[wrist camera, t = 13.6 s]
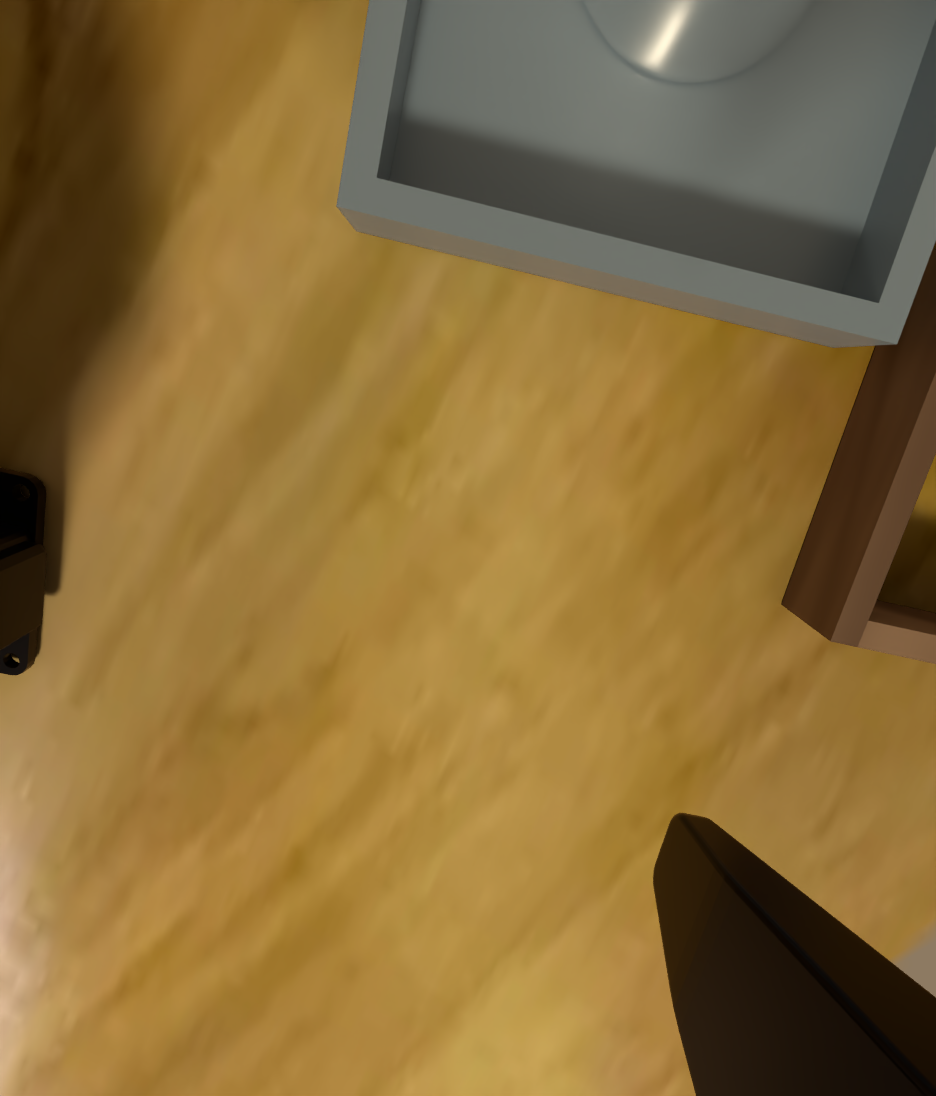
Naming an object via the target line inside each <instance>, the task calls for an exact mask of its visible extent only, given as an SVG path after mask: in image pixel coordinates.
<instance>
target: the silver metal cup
mask: <svg viewBox="0 0 936 1096" xmlns="http://www.w3.org/2000/svg"><path fill="white" fill-rule="evenodd" d="M813 1H814V0H584V3H585V5H586V8H587V10H588V13H589V15H590V17H591V19H592V21H593V23H594V24H595V26H596V28H597V29H598V31H599V32H600V34H601V35H602V37H603V38H604V39H605V41H606V42H607V43H608V44H609V45H610V47H611V48H612V49H613V50H614V51H615V52H616V53H617V54H618V55H619V56H620V57H621V58H623V59H624V60H625V61H626V62H628V63H629V64H630V65H632V66H633V67H635V68H637V69H638V70H640V71H642V72H644V73H646V74H648V75H650V76H653V77H655V78H658V79H661V80H665V81H670V82H676V83H705V82H711V81H716V80H720V79H723V78H727V77H729V76H732V75H734V74H737V73H739V72H741V71H743V70H745V69H747V68H749V67H751V66H752V65H754V64H756V63H757V62H759V61H760V60H762V59H763V58H764V57H766V56H767V55H768V54H770V53H771V52H772V51H773V50H774V49H775V48H776V47H778V46H779V45H780V44H781V43H782V42H783V41H784V39H785V38H786V37H787V36H788V35H789V34H790V33H791V32H792V30H793V29H794V28H795V27H796V26H797V24H798V23H799V22H800V21H801V19H802V18H803V16H804V15H805V13H806V12H807V10H808V9H809V7H810V6H811V4H812V3H813Z"/></svg>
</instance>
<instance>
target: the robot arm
mask: <svg viewBox="0 0 936 1096" xmlns="http://www.w3.org/2000/svg"><path fill="white" fill-rule="evenodd" d="M21 485H24V486H26V487H27V488H28V490H29V493H30V495H29V498H27V497H24V495H23V494H22V493H21V489H20V488H21ZM45 503H46V489H45V486H44V484H43V482H42V481H41V480H40V479H39V478H37V477H36V476H34V475H31V474H27V473H23V472H18V471H14V470H9V469H4V468H0V673H3V674H8V675H18V674H21V673H23V672H24V671H26V670H27V669H29V668H30V667H31V666H32V665H33V664H34V661H35V655H36V640H37V627H39V626H40V625H41V624H42V616H43V601H44V586H45V571H46V557H47V553H46V551H45V549H44V547H43V534H44V518H45ZM11 653H12V654H15V655H16V656H17V657H18V658H19V661H20V663H18V662H16V661H15V660H14V659H13V658H12V655H11ZM653 885H654V892H655V898H656V904H657V911H658V917H659V923H660V930H661V936H662V942H663V948H664V955H665V961H666V967H667V974H668V980H669V986H670V992H671V997H672V1002H673V1008H674V1012H675V1016H676V1020H677V1024H678V1029H679V1033H680V1036H681V1040H682V1044H683V1048H684V1052H685V1055H686V1059H687V1063H688V1067H689V1071H690V1074H691V1078H692V1082H693V1086H694V1090H695V1093H696V1096H936V998H935V997H934V996H933V995H932V994H931V993H929V992H928V991H927V990H925V989H924V988H923V987H922V986H921V985H919V984H918V983H917V982H915V981H914V980H913V979H912V978H910V977H909V976H908V975H907V974H905V973H904V972H903V971H902V970H900V969H899V968H898V967H896V966H895V965H894V964H893V963H891V962H890V961H889V960H888V959H886V958H885V957H884V956H883V955H881V954H880V953H879V952H877V951H876V950H875V949H874V948H872V947H871V946H870V945H869V944H867V943H866V942H865V941H864V940H862V939H861V938H860V937H858V936H857V935H856V934H855V933H853V932H852V931H851V930H850V929H848V928H847V927H846V926H845V925H843V924H842V923H841V922H839V921H838V920H837V919H836V918H834V917H833V916H832V915H831V914H829V913H828V912H827V911H826V910H824V909H823V908H822V907H820V906H819V905H818V904H817V903H815V902H814V901H813V900H812V899H810V898H809V897H808V896H807V895H805V894H804V893H803V892H801V891H800V890H799V889H798V888H796V887H795V886H794V885H793V884H791V883H790V882H789V881H788V880H786V879H785V878H784V877H782V876H781V875H780V874H779V873H777V872H776V871H775V870H774V869H772V868H771V867H770V866H769V865H767V864H766V863H765V862H763V861H762V860H761V859H760V858H758V857H757V856H756V855H755V854H753V853H752V852H751V851H750V850H748V849H747V848H746V847H744V846H743V845H742V844H741V843H739V842H738V841H737V840H736V839H734V838H733V837H732V836H731V835H729V834H728V833H727V832H725V831H724V830H723V829H722V828H720V827H719V826H718V825H717V824H715V823H714V822H713V821H712V820H710V819H708V818H705V817H701V816H696V815H691V814H686V813H678V814H676V815H674V817H673V818H672V820H671V821H670V824H669V826H668V829H667V832H666V835H665V838H664V841H663V844H662V846H661V849H660V852H659V855H658V858H657V861H656V864H655V867H654V874H653Z"/></svg>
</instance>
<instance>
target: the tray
mask: <svg viewBox="0 0 936 1096" xmlns="http://www.w3.org/2000/svg"><path fill="white" fill-rule="evenodd" d="M337 208H338V209H339V210H340V211H341V213H342V214H343V215H344V216H345V218H346V219H347V220H348V221H349V223H350V224H351V225H352V226H353V228H354V229H355V230H356V231H358V232H362V233H366V234H370V235H374V236H378V237H382V238H387V239H391V240H395V241H399V242H403V243H407V244H411V245H415V246H419V247H423V248H427V249H432V250H436V251H440V252H444V253H448V254H452V255H456V256H460V257H464V258H468V259H472V260H477V261H481V262H485V263H489V264H493V265H497V266H501V267H505V268H509V269H513V270H517V271H522V272H526V273H530V274H534V275H538V276H542V277H546V278H550V279H554V280H558V281H562V282H567V283H571V284H575V285H579V286H583V287H587V288H591V289H595V290H599V291H603V292H607V293H612V294H616V295H620V296H624V297H628V298H632V299H636V300H640V301H644V302H648V303H652V304H657V305H661V306H665V307H669V308H673V309H677V310H681V311H685V312H689V313H693V314H698V315H702V316H706V317H710V318H714V319H718V320H722V321H726V322H730V323H734V324H738V325H743V326H747V327H751V328H755V329H759V330H763V331H767V332H771V333H775V334H779V335H783V336H788V337H792V338H796V339H800V340H804V341H808V342H812V343H816V344H820V345H824V346H828V347H833V348H835V347H855V346H874V345H894V344H897V343H898V341H899V338H900V335H901V333H902V330H903V327H904V324H905V322H906V319H907V316H908V314H909V311H910V308H911V306H912V303H913V300H914V298H915V295H916V292H917V290H918V287H919V284H920V282H921V279H922V276H923V274H924V271H925V268H926V266H927V263H928V260H929V258H930V255H931V252H932V249H933V247H934V244H935V241H936V0H814V1H813V3H812V4H811V6H810V7H809V9H808V10H807V12H806V13H805V15H804V16H803V18H802V19H801V21H800V22H799V23H798V24H797V26H796V27H795V28H794V29H793V30H792V32H791V33H790V34H789V35H788V36H787V37H786V38H785V39H784V41H783V42H782V43H781V44H780V45H779V46H778V47H776V48H775V49H774V50H773V51H772V52H771V53H770V54H768V55H767V56H766V57H764V58H763V59H762V60H760V61H759V62H757V63H756V64H754V65H752V66H751V67H749V68H747V69H745V70H743V71H741V72H739V73H737V74H734V75H732V76H729V77H727V78H723V79H720V80H716V81H711V82H705V83H676V82H670V81H665V80H661V79H658V78H655V77H653V76H650V75H648V74H646V73H644V72H642V71H640V70H638V69H637V68H635V67H633V66H632V65H630V64H629V63H628V62H626V61H625V60H624V59H623V58H621V57H620V56H619V55H618V54H617V53H616V52H615V51H614V50H613V49H612V48H611V47H610V45H609V44H608V43H607V42H606V41H605V39H604V38H603V37H602V35H601V34H600V32H599V31H598V29H597V28H596V26H595V24H594V23H593V21H592V19H591V17H590V15H589V13H588V10H587V8H586V5H585V3H584V0H369V6H368V13H367V19H366V25H365V31H364V38H363V44H362V50H361V56H360V63H359V69H358V75H357V81H356V88H355V94H354V100H353V106H352V113H351V119H350V125H349V131H348V137H347V144H346V150H345V156H344V162H343V169H342V175H341V181H340V187H339V194H338V200H337Z"/></svg>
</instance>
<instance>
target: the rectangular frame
mask: <svg viewBox="0 0 936 1096" xmlns="http://www.w3.org/2000/svg"><path fill="white" fill-rule="evenodd" d="M935 454H936V249H934V250H932V252H931V255H930V258H929V260H928V263H927V266H926V268H925V271H924V274H923V276H922V279H921V282H920V284H919V287H918V290H917V292H916V295H915V298H914V300H913V303H912V306H911V308H910V311H909V314H908V316H907V319H906V322H905V324H904V327H903V330H902V333H901V335H900V338H899V341H898V343H897V344H894V345H876V347H875V350H874V352H873V355H872V358H871V361H870V363H869V366H868V369H867V372H866V374H865V377H864V380H863V382H862V385H861V388H860V391H859V393H858V396H857V399H856V402H855V404H854V407H853V410H852V413H851V415H850V418H849V421H848V423H847V426H846V429H845V432H844V434H843V437H842V440H841V443H840V445H839V448H838V451H837V454H836V456H835V459H834V462H833V464H832V467H831V470H830V473H829V475H828V478H827V481H826V484H825V486H824V489H823V492H822V495H821V497H820V500H819V503H818V505H817V508H816V511H815V514H814V516H813V519H812V522H811V525H810V527H809V530H808V533H807V536H806V538H805V541H804V544H803V546H802V549H801V552H800V555H799V557H798V560H797V563H796V566H795V568H794V571H793V574H792V577H791V579H790V582H789V585H788V587H787V590H786V593H785V596H784V598H783V601H782V604H781V605H783V606H784V607H785V608H787V609H788V610H789V611H791V612H792V613H793V614H795V615H796V616H797V617H799V618H800V619H801V620H803V621H804V622H805V623H807V624H808V625H809V626H811V627H812V628H813V629H815V630H816V631H817V632H819V633H820V634H822V635H823V636H824V637H826V638H827V639H828V640H830V641H832V642H836V643H841V644H846V645H850V646H855V647H860V648H864V649H869V650H874V651H878V652H883V653H887V654H892V655H897V656H901V657H906V658H911V659H915V660H920V661H925V662H929V663H934V664H936V613H932V612H928V611H923V610H919V609H914V608H910V607H905V606H901V605H896V604H891V603H887V602H882V601H878V600H877V598H878V595H879V593H880V590H881V588H882V585H883V583H884V580H885V578H886V576H887V573H888V571H889V568H890V566H891V563H892V561H893V558H894V556H895V553H896V551H897V548H898V546H899V543H900V541H901V538H902V536H903V533H904V531H905V528H906V526H907V524H908V521H909V519H910V516H911V514H912V511H913V509H914V506H915V504H916V501H917V499H918V496H919V494H920V491H921V489H922V486H923V484H924V481H925V479H926V476H927V474H928V472H929V469H930V467H931V464H932V462H933V459H934V457H935Z"/></svg>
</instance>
